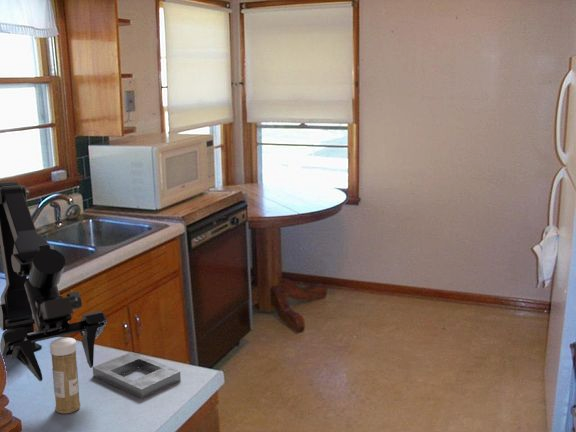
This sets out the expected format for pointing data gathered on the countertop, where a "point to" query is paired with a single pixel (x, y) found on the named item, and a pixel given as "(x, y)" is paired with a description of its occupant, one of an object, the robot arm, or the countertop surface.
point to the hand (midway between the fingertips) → (67, 373)
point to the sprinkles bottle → (65, 375)
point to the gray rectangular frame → (141, 386)
